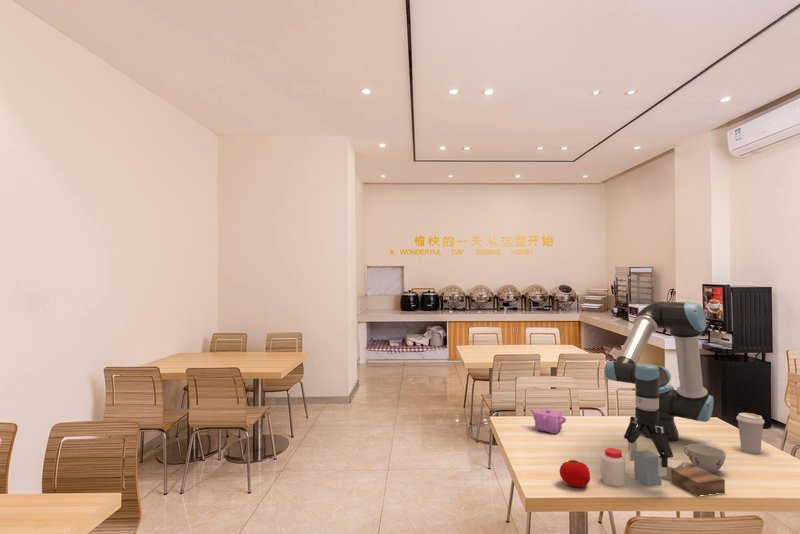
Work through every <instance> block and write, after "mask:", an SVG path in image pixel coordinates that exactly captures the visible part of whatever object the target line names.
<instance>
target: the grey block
mask: <svg viewBox="0 0 800 534" xmlns="http://www.w3.org/2000/svg"><path fill="white" fill-rule="evenodd" d="M677 468H684V462H683V461H678V460H675V459H673V458H672V459H671V458H668V467H667V476H661V479H665V480H668V481H671V482H672V469H677Z"/></svg>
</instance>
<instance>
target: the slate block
mask: <svg viewBox="0 0 800 534" xmlns="http://www.w3.org/2000/svg"><path fill="white" fill-rule="evenodd" d="M659 456H660V455H659V454H657V453H655V452H653V451H651V450H649V449H645V450H637V451H634V461H633V465H634V466H633V468H634V469H633V470H634V471H633V472H634V473H633V474H634V478H633V480H635V481H637V482H638V483H640V484H641V485H643V486H646V487H647V488H648V487H654V486H661V485H662V477H660V476H658V457H659Z"/></svg>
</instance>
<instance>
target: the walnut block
mask: <svg viewBox="0 0 800 534" xmlns="http://www.w3.org/2000/svg"><path fill="white" fill-rule="evenodd" d="M671 483H672V484H674V485H676V486H677V487H679V488H681V489H683V490H685V491H687V492H689V493H690V492H691V493H690V494H692V493H693V494H692V495H694V494H695V495H694V496H696V495H697V496H696V497H698V496H700V495H708V496H710V495H709V494H716V493H724V494H726V489H725V487H726V481H725V479H724V478H722V477H720V476H718V475H716V474H715V473H710V472H708V471H706V470H704V469H701V468H699V467H697V466H688V467H683V468H677V469H672V481H671ZM716 495H717V494H716Z"/></svg>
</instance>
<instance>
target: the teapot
mask: <svg viewBox="0 0 800 534" xmlns="http://www.w3.org/2000/svg"><path fill="white" fill-rule="evenodd" d="M528 410H529V411H530V412H531V413H532V419H533V420H534V422H535V423H534V429H535V430H536V431H539V432H541V431H542V433H543V431H544V432H546V433H549V434H551V435H554V434H557V433H559V432H560V431H561V430H562V429H563V426H562V425H563V424H564V423H566V421H567V418H566V417H565V416H563V415H562V414H563V412H560V411H555V410H551V409H550V408H546V409H543V408H540V409H539V410H537V411H535V410H534V409H533V408H528Z"/></svg>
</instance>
